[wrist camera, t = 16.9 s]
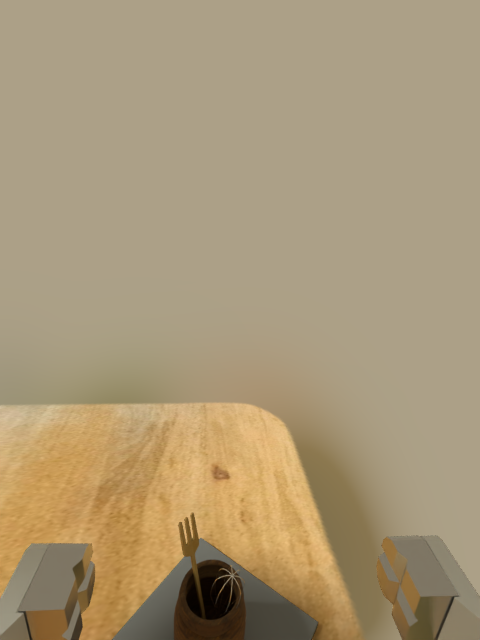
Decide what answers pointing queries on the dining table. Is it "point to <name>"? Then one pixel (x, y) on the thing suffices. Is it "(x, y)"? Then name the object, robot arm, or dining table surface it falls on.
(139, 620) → the charcoal mat
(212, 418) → the dining table surface
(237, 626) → the utensil holder
